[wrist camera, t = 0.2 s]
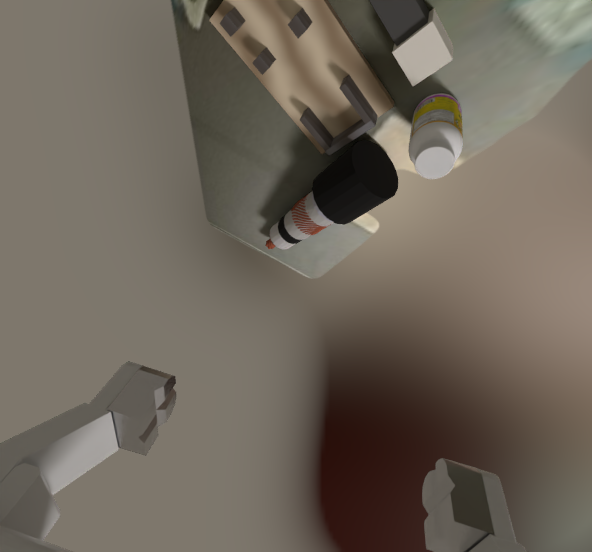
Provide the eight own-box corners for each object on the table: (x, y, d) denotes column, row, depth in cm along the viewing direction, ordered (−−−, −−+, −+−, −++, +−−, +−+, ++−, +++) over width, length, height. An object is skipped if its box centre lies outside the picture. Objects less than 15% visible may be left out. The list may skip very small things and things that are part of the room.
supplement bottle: (451, 138, 54) (451, 190, 46) (407, 132, 55) (400, 181, 47) (469, 94, 49) (472, 144, 41) (420, 87, 50) (414, 135, 42)
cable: (272, 218, 84) (241, 234, 78) (375, 134, 58) (341, 148, 52) (295, 254, 85) (266, 273, 79) (406, 187, 58) (376, 207, 52)
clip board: (278, -75, 41) (267, -68, 38) (394, 102, 52) (391, 116, 50) (212, 17, 50) (200, 27, 48) (323, 150, 62) (317, 164, 59)
